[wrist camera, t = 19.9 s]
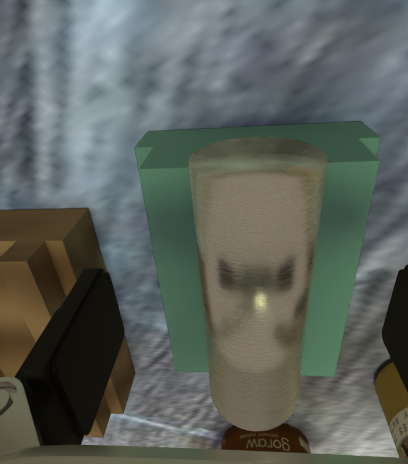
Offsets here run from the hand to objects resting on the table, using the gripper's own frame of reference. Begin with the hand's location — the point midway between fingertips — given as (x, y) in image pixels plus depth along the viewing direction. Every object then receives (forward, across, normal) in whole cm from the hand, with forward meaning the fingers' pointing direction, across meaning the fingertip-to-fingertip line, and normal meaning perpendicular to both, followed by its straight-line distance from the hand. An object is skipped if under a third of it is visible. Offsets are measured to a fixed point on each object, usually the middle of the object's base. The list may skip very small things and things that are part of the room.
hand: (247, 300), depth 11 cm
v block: (+11, -1, +4) cm, 12 cm away
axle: (+6, 0, +3) cm, 7 cm away
